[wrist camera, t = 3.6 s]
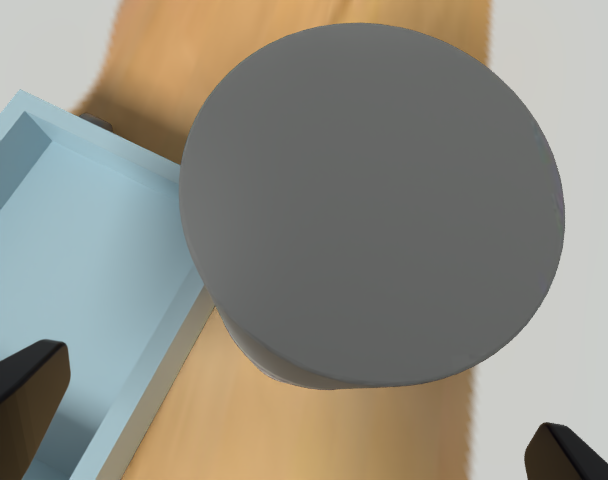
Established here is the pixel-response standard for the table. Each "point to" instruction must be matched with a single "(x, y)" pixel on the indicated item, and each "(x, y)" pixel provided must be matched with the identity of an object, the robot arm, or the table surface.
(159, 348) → the cart
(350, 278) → the container
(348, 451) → the table surface
